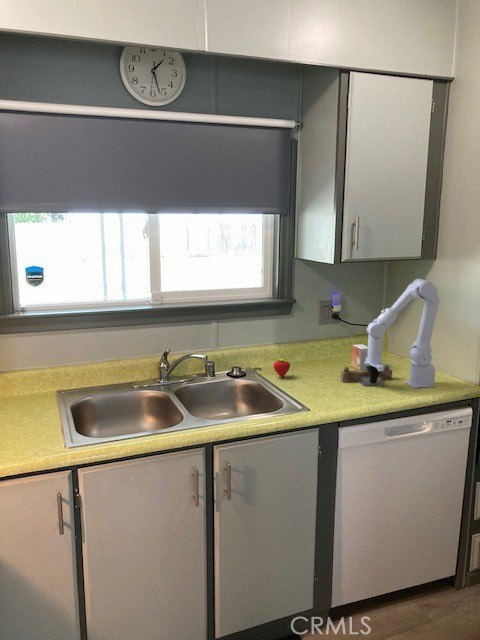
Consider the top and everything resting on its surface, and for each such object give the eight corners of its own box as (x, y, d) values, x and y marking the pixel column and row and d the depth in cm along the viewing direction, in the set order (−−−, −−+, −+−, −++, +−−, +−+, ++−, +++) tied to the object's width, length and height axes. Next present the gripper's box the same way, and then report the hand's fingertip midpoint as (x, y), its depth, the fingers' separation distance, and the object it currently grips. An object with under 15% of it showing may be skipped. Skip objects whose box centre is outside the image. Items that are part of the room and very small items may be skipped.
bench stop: (388, 377, 233) (389, 364, 232) (391, 379, 230) (392, 366, 229) (340, 380, 230) (340, 366, 229) (342, 382, 227) (343, 368, 226)
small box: (351, 366, 250) (351, 344, 248) (361, 365, 252) (362, 343, 249) (359, 371, 242) (360, 348, 240) (370, 370, 244) (371, 347, 242)
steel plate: (375, 380, 229) (376, 375, 229) (381, 385, 223) (381, 379, 223) (358, 381, 228) (358, 376, 227) (363, 386, 222) (363, 380, 222)
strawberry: (271, 376, 237) (271, 354, 235) (287, 374, 239) (287, 353, 237) (275, 380, 231) (275, 357, 229) (292, 378, 233) (292, 356, 231)
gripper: (359, 347, 226) (358, 378, 228) (372, 356, 211) (370, 389, 214) (375, 346, 226) (373, 377, 229) (389, 355, 212) (387, 388, 215)
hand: (373, 383), depth 222 cm, fingers closed
